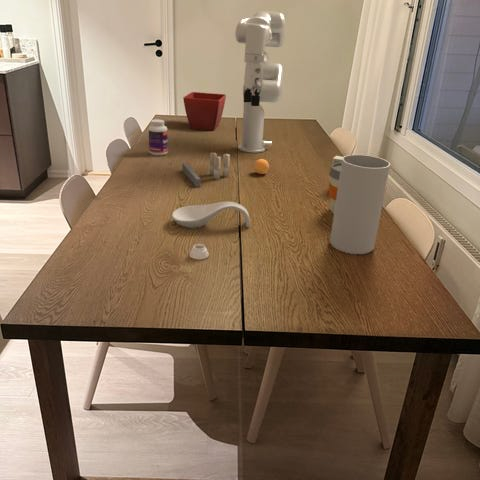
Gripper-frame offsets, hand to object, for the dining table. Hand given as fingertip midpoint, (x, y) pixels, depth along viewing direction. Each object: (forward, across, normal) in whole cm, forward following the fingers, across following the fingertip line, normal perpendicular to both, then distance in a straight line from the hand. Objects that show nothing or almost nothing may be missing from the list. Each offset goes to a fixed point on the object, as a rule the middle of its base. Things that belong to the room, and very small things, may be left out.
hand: (251, 104), depth 197 cm
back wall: (+26, -14, +27) cm, 40 cm away
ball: (+22, -13, -2) cm, 26 cm away
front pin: (+26, -14, +13) cm, 32 cm away
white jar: (+29, -77, +38) cm, 91 cm away
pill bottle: (+25, +20, +34) cm, 47 cm away
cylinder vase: (+28, -79, -6) cm, 84 cm away
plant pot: (+23, +68, +2) cm, 72 cm away
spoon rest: (+28, -57, +30) cm, 71 cm away
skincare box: (+26, -34, -25) cm, 50 cm away
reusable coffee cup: (+27, -55, -16) cm, 63 cm away
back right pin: (+26, -11, +18) cm, 33 cm away
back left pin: (+26, -16, +18) cm, 35 cm away
